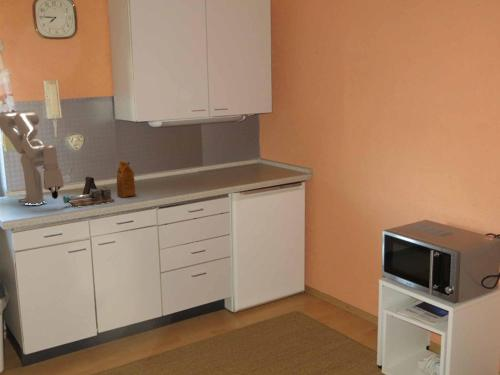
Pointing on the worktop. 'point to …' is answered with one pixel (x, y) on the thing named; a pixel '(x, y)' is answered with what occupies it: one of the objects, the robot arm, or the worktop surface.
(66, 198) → the shaft
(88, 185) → the phone stand
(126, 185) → the coffee package
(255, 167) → the worktop surface
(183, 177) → the worktop surface
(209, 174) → the worktop surface
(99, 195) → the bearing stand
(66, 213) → the worktop surface
